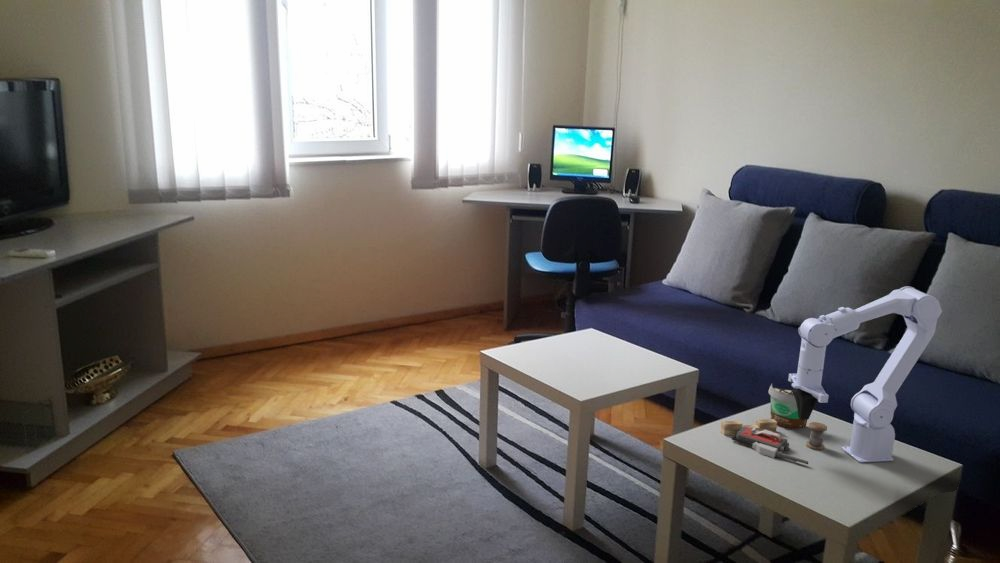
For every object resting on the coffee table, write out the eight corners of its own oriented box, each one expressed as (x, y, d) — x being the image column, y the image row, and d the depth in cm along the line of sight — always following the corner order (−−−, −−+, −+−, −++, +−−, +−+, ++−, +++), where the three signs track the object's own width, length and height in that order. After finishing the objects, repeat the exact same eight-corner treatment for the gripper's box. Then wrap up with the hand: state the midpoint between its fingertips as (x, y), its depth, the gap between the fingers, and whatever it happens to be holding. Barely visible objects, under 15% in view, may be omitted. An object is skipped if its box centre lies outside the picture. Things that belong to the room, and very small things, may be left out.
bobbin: (818, 442, 202) (820, 421, 200) (827, 449, 197) (830, 429, 196) (802, 443, 201) (805, 422, 199) (811, 450, 197) (814, 429, 195)
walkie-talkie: (727, 445, 199) (806, 470, 187) (729, 429, 198) (808, 453, 186) (740, 434, 206) (817, 457, 194) (741, 419, 205) (819, 441, 193)
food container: (759, 423, 212) (763, 389, 210) (765, 416, 217) (770, 382, 215) (805, 435, 206) (810, 400, 203) (811, 427, 210) (816, 393, 208)
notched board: (772, 429, 209) (773, 419, 208) (775, 432, 207) (777, 422, 206) (720, 431, 206) (721, 421, 205) (723, 434, 204) (724, 424, 203)
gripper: (780, 357, 195) (773, 407, 198) (812, 378, 181) (804, 431, 184) (805, 356, 196) (799, 406, 199) (839, 377, 182) (831, 430, 185)
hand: (803, 418), depth 192 cm, fingers closed
